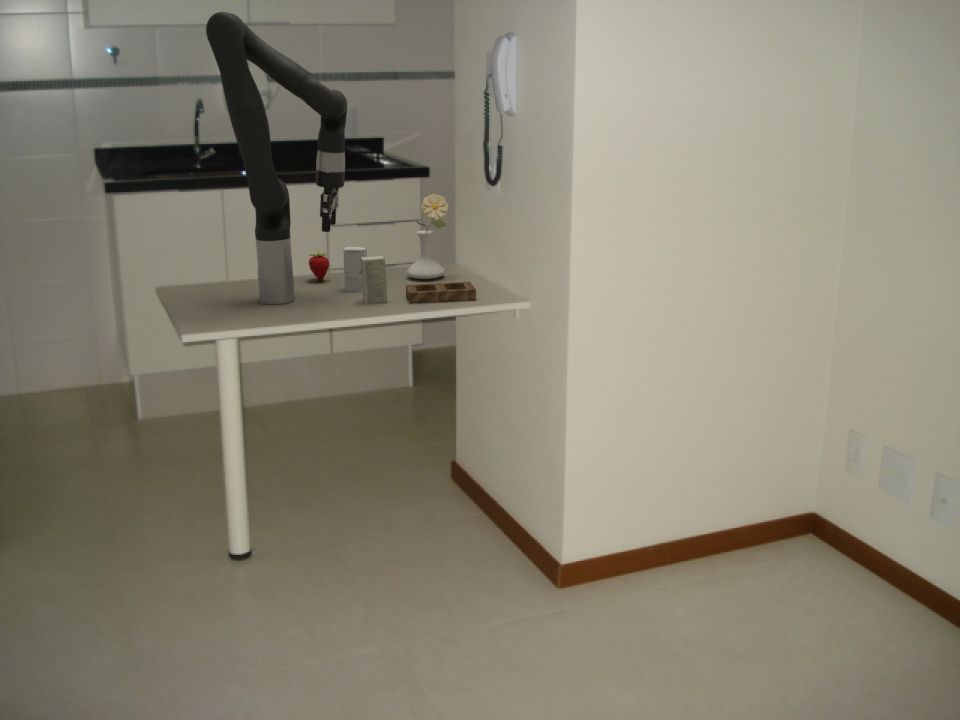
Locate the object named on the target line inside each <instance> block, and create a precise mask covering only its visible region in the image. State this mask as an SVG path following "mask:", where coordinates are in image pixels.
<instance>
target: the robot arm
mask: <svg viewBox="0 0 960 720" xmlns="http://www.w3.org/2000/svg"><path fill="white" fill-rule="evenodd" d="M205 26H206V27H205V33H206V38H207V40H208V43H209V46H210V48H211V51H212V53H213V56H214V59H215V62H216V64H217V67H218V70H219V73H220V80H221V83H222V89H223V94H224V98H225V102H226V103H225V104H226V108H227V112H228V116H229V120H230V123H231V127H232V130H233V133H234V136H235V140H236V143H237V146H238V150H239V152H240V155H241V158H242V161H243V165H244V167H245V168H244V169H245V174H246V179H247V185H248V191H249V199H250V202H251V205H252V206H253V207H254V209H255V228H254V236H255V249H256V262H257V278H258V279H257V281H258V291H259V293H258V294H259V303H260V304H267V305H268V304H269V305H279V304H281V305H282V304H287V303H291V302H293V301H295V298H296V297H295V295H296V294H295V285H294V270H293V255H292V242H291V226H292V224H291V206H290V205H291V204H290V193H289V189H288V186H287V185H286V183H285V182H284V181H283V179H280V178H279V177H278V175H277V172H276V169H275V168H276V167H275V166H274V162H273V156H272V155H273V154H272V145H271V143H272V142H271V135H270V134H271V133H270V131H271V130H270V126H269V125H270V124H269V119H268V116H267V111H266V107H265V104H264V101H263V98H262V95H261V93H260V90H259V88H258V85H257V83H256V81H255V79H254V77H253V75H252V73H251V70H250V67H249V64H248V61H249V62H250V63H252V64H254V65H255V66H256V67H258V68H259V69H260V70H261V71H263V73H265V74H266V75H267V76H268V77H270V78H271V79H272V80H273V81H274V82H276V83H277V84H278V85H280V86H281V87H282V88H284V89H285V90H287V91H288V92H289V93H291V94H292V95H293V96H295V97H297V98H298V99H300V100H302V101H303V102H304V103H305V104H306V105H307V106H309V107H310V108H311V109H312V111H314V112H316V113H317V114H318V115H320V126H319V127H320V128H319V131H318V135H317V136H318V137H317V155H316V163H315V164H316V165H315V166H316V168H315V185H316V186H317V187H320V188H323V192H321V194H320V206H319V217H320V218H321V231H322V232H323V233H330V232H331V226H335V225H336V224H337V212H338V208H339V193H340V191H339V189H340V188H344V186H345V177H346V176H345V175H346V157H345V155H346V153H345V152H346V151H345V150H346V149H345V144H346V136H345V135H346V134H345V133H346V131H345V130H346V123H347V115H348V101H347V98H346V96H345V94H343V93H342V92H341V91H340V90H338V89H330V88H329V87H327V86H326V85H324V83H321V82H320V81H319V80H318V78H317V76H315V75H314V74H313V73H311V72H310V71H309V70H307V69H305V68H304V67H303V66H301V65H300V64H299V63H297V62H296V61H294V60H292V59H291V58H289V57H288V56H286V55H284V54H283V53H281V52H280V51H278V50H276V49H275V48H274V47H272V46H271V45H269V44H268V43H267V42H265V41H264V40H263V39H262V38H261V37H260V36H258V34H256V33H255V32H254V31H253V30H252V29H251V28H250V27H249V26H248V25H247V24H246V23H245V22H244V21H243V20H242V18H240V17H239V16H238V15H236V14H235V13H232V12H228V11H218V12H215V13H213V14H212V15H211V16H210V17H209V18H208V20H207V23H206V25H205ZM325 211H327V212H325Z"/></svg>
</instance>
